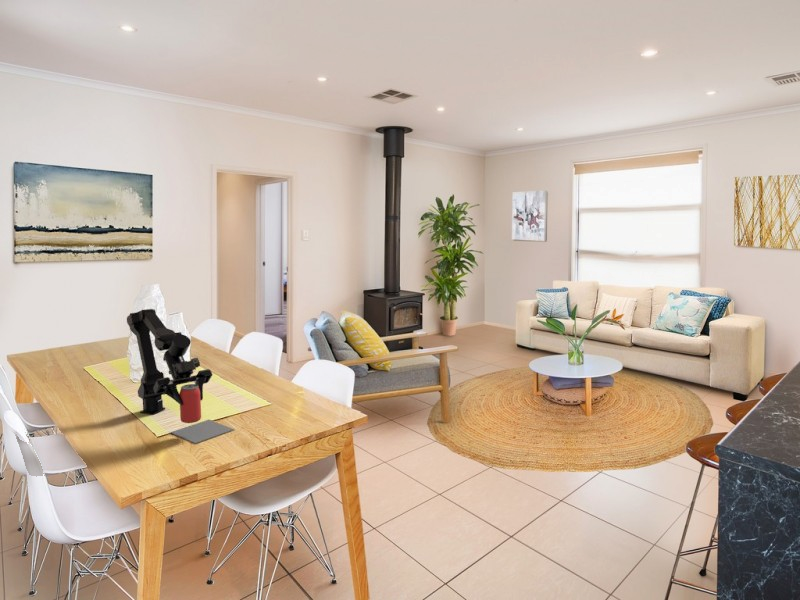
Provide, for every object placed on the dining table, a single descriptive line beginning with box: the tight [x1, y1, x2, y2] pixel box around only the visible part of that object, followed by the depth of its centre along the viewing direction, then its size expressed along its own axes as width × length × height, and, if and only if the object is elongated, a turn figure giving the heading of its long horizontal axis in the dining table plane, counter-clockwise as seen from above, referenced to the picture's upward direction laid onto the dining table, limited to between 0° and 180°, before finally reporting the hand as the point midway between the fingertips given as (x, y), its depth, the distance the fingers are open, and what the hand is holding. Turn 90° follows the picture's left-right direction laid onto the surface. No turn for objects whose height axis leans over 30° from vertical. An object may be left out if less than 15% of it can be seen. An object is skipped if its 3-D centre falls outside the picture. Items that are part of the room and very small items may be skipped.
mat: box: [170, 419, 235, 445], centre depth 181 cm, size 15×15×1 cm
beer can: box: [179, 383, 202, 424], centre depth 176 cm, size 7×7×12 cm
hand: (192, 402), depth 175 cm, fingers closed on beer can, 6 cm apart
